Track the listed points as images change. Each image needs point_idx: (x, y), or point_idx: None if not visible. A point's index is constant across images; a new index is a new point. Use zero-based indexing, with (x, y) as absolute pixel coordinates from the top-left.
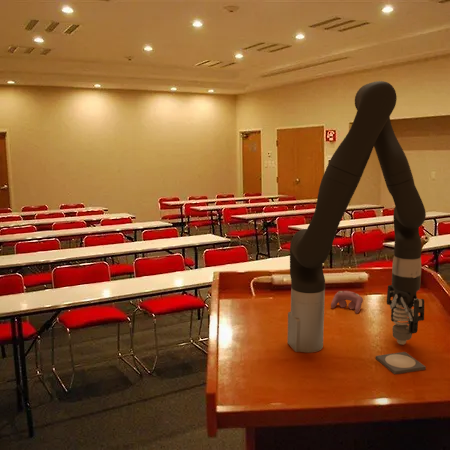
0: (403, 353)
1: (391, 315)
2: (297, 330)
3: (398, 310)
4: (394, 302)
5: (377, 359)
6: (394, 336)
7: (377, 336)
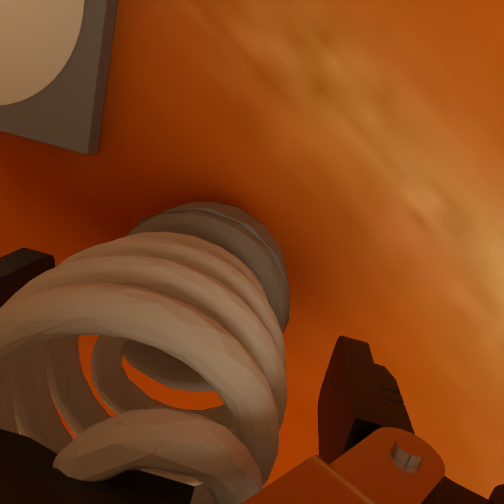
0: (68, 117)
1: (373, 373)
2: None
3: (55, 318)
4: (268, 496)
5: None
6: (219, 203)
7: (437, 218)
